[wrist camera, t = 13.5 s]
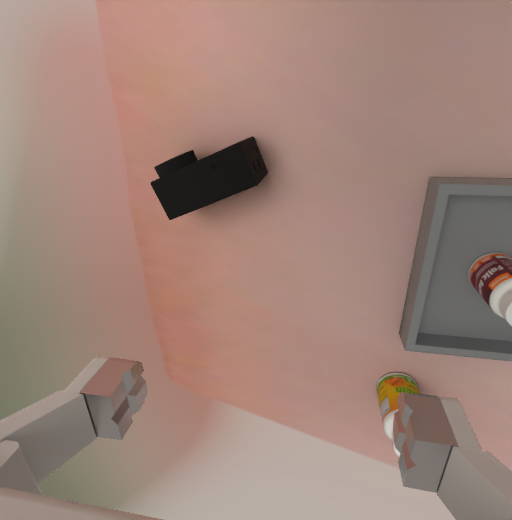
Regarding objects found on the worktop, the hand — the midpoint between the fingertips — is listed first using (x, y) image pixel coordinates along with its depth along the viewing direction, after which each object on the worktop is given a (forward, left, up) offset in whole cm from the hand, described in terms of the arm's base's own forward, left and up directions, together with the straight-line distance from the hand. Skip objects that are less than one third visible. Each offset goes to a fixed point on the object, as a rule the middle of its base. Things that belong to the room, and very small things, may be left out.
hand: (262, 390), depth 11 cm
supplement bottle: (+28, +14, -31) cm, 44 cm away
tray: (+9, +21, -31) cm, 38 cm away
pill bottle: (+9, +21, -30) cm, 37 cm away
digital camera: (-2, -10, -31) cm, 33 cm away
